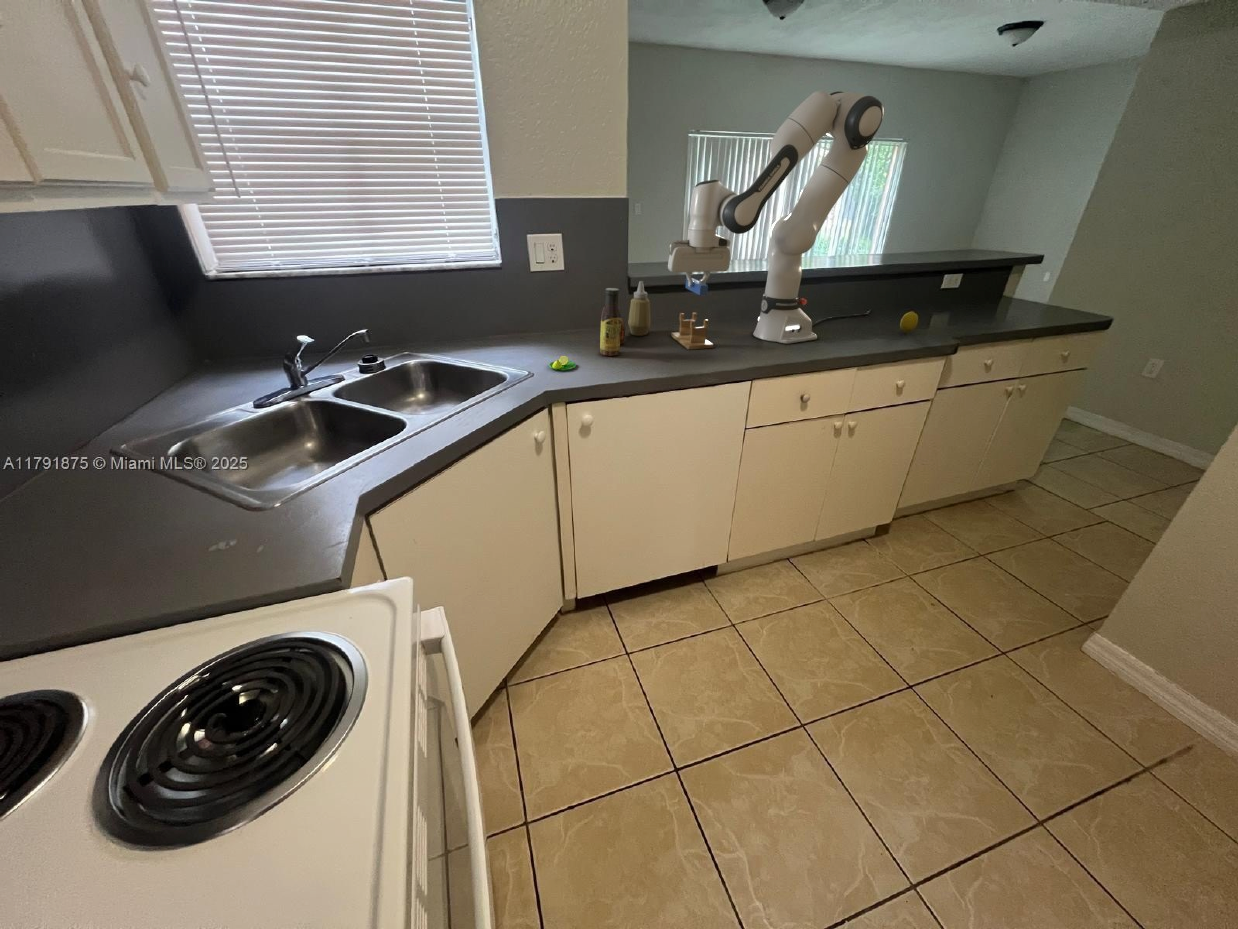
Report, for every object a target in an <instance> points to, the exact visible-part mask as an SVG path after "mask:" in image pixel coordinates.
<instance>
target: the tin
mask: <svg viewBox="0 0 1238 929" xmlns="http://www.w3.org/2000/svg"><path fill="white" fill-rule="evenodd" d="M626 328H627V327H626V323H625V321H624V320H623V319H622V318H621V330H620V345H623V344H624V343H625V341H626Z"/></svg>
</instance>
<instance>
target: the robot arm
mask: <svg viewBox="0 0 1238 929" xmlns="http://www.w3.org/2000/svg"><path fill="white" fill-rule="evenodd" d="M884 113H885V109H884V104H883V103H882V102H881V101H880V100H879V99H878V98H876V97H875V96H873V95H866V94H864V93H860V92H856V91H854V92H847V91H846V92H844V91H834V92H831V93H829V92H827V91H825V90H816V91H814V92H813V93H812V94H810V95H809V96H808V97H807V98H806V99H805V100H803V101H802V102H800V104H799V105H798V106H797V107H796V108H795V109H794V110H793V111H792V112H791V113H790V114H789V116H788V117H787V118H786V119H785V120H784V122H782V124H781V125H780V126H779V127H778V129H777V131H776V132H775V133H774V135H773V137H772V139H771V140H770V144H769V152H770V155H769V156H770V157H769V160H768V162H767V164H766V166H765V167H763V170H762V171H761V172H760V173H759V175H758V176H757V177H756V178H755V180H754V181H753V182H752V184H751V185H750V186H749V187H748V188H747V189H746V190H744V191H743V192H740V193H738V192H735V191H733V190H731V189H730V188H728V187H727V186H725V185H724V184H723V183H722V182H721V181H720V180H719V179H709V180H704V181H700V182H698V183H697V184H695V186H694V187H693V189H692V194H691V198H690V205H689V206H690V207H689V225H688V227H687V238H686V239H681V240H680V239H675V240H674V241H672V242H671V243H670V245H669V250H668V251H669V256H668V262H667V269H668V271H669V272H671V273H685V276H686V279H688V286H689V287H694V283H695V281H693V280H692V279H691V278H692V276H693V273H703V277H702V279H699V281H700V282H702V283H704V284H706V283H707V280H708V279H709V278H710V276H711V272H713V273H714V272H727V271H728V270H729V269H730V265H731V250H730V248H729V247H730V245H731V240H730V239H729V238H727V237H724V236H722V235H719V234H717V232H718V228H719V227H723V228H725V229H727V230H728V231H729V232H731V233H732V234H736V235H742V234H745V233H747V232H749V231H751V230H752V229H753V228H754V227H755V225H757V223H758V220H759V219H760V216H761V214H762V210H763V208H764V207H765V205H766V203H767V202H768V201H769V199H770V198H771V197H772V195H774V193H775V192H776V191H777V190H778V188H779V187H780V186H781V185H782V183H783V182H784V181H785V179H786V178H788V176H789V175H790V173H791V172H792V171H793V170H794V169H795V168H796V167H797V166H798V165H799V164H800V163H801V162H802V161H803V160H804V159H805V157H806V156H807V155H808V154H809V153H810V152H811V151H812V150H813V149H814V148H815V147H816V145H817V144H818V143H819V141H820V140H821V139H822V138H823V137H824V136H828V137H830V138H832V143H831V146H830V148H829V151H828V152H827V154H826V155H825V156H824V158H823V159H822V161H821V162H820V163H819V164H818V166H817V168H816V169H815V171H814V172H813V174H812V175H811V177H810V178H809V179H808V181H807V182H806V184H804V187H803V188H802V189H801V192H800V194H799V198H798V199H797V201H796V203H795V205H794V207H793V209H792V210H791V212H790V214H785V215H783V216H781V217H779V218H778V219H777V220H775V222H774V223H773V224H772V226H771V229H770V238H769V239H770V240H769V252H768V267H767V268H768V269H767V279H766V283H765V289H764V293H763V294H762V299H761V303H760V314H759V316H758V318H757V324H756V327H755V329H754V331H753V333H752V335H753V336H754V337H755V338H757V339H760V340H764V341H767V342H777V343H781V344H794V343H801V342H807V341H813V340H814V341H815V340H817V339H818V335H817V334H816V333H814V331H813V327H814V326H815V325H818V324H819V323H821V322H824V321H828V320H834V319H835V320H836V319H843V318H854V317H855V318H856V317H864V316H868V315H869V314H870V313H871V309H870V310H869V309H868V310H869V311H867V312H865V313H858V314H857V313H856V314H847V315H846V314H845V315H838V316H829V317H825V318H821V319H819V320H817V321H815V322H814V323H813V321H812V319H811V318H810V317H809V316H808V315H807V314H806V312H804V311H803V310H802V309H801V305H802V306H805V305H806V304H807V299H806V298H803V297H802V298H800V297H799V296H798V295H799V290H800V285H801V281H802V276H803V269H802V268H803V267H802V265H803V264H802V261H803V254H805V253H807V252H809V251H810V250H811V249H812V248H813V246H814V245H815V242H816V239H817V236H818V235H819V233H820V231H821V229H822V227H823V226H824V224H825V221H826V220H827V218H828V216H829V215H830V213H831V211H832V210H833V208H834V206H835V205H836V204H837V202H838V201H839V199H840V198H841V196H842V195H843V194H844V192H845V191H846V190H847V188H848V187H849V185H851V183H852V181H853V180H854V178H855V176H856V175H857V173H858V172H859V170H860V168H861V166H862V165H863V163H864V161H865V159H866V157H867V154H868V150H869V149H868V145H869V144H870V143H871V141H872V140H873V139H874V137H875V136H876V134H877V133H878V132H879V129H880V127H881V124H882V122H883V119H884ZM706 285H707V284H706Z"/></svg>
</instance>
